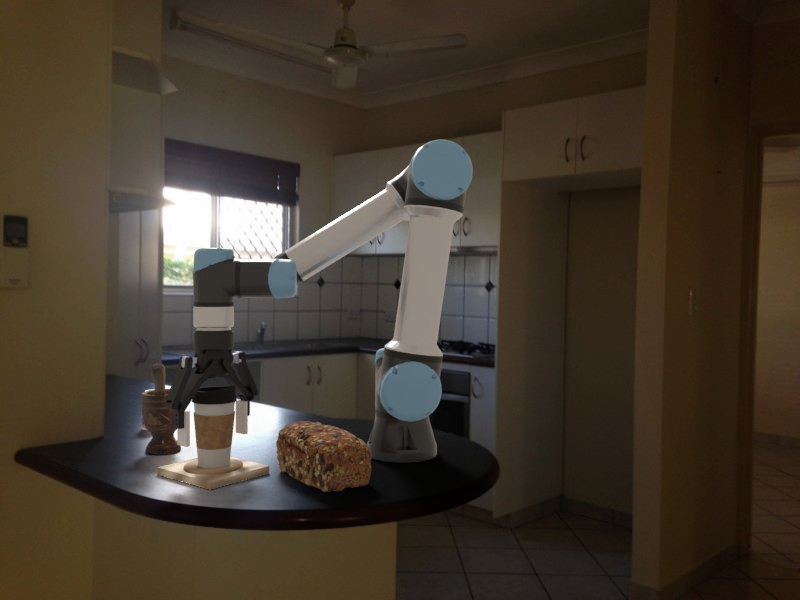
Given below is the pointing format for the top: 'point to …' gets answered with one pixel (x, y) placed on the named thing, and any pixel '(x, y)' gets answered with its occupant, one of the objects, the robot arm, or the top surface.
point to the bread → (323, 456)
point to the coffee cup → (214, 425)
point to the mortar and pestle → (159, 415)
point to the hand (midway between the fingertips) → (213, 439)
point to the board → (213, 472)
